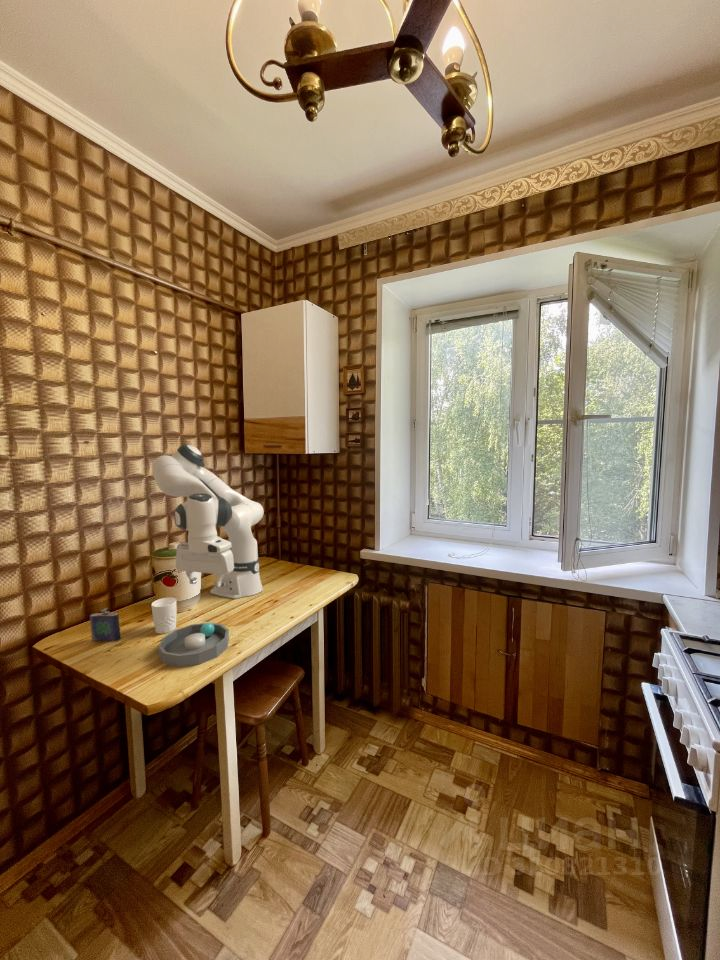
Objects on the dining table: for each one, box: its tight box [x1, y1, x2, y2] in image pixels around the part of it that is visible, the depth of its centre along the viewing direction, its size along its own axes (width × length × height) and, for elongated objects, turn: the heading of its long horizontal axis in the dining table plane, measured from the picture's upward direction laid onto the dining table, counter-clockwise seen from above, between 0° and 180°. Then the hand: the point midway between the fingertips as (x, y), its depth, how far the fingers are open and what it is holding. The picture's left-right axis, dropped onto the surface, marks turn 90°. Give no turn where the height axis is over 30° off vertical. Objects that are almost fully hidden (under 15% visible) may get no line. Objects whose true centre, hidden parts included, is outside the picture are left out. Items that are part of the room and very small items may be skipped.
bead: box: [200, 622, 215, 637], centre depth 127 cm, size 4×4×4 cm
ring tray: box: [157, 622, 230, 668], centre depth 122 cm, size 20×20×4 cm
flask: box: [89, 607, 122, 643], centre depth 128 cm, size 9×3×11 cm, turn 90°
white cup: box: [151, 597, 178, 635], centre depth 134 cm, size 8×8×10 cm
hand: (205, 584), depth 126 cm, fingers open, 8 cm apart
